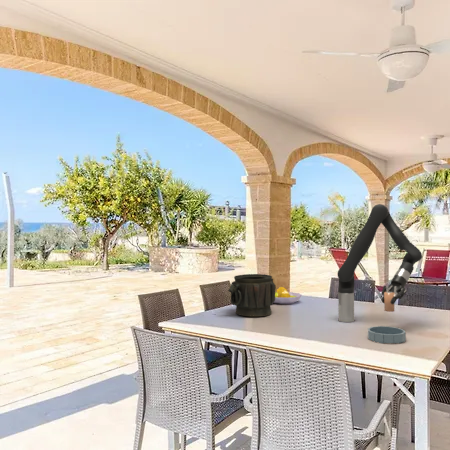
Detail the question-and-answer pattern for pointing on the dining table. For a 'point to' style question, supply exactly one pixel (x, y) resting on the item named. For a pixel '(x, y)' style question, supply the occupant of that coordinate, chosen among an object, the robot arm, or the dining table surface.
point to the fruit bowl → (285, 296)
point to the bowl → (386, 334)
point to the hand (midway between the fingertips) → (387, 302)
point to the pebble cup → (388, 301)
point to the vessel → (253, 294)
